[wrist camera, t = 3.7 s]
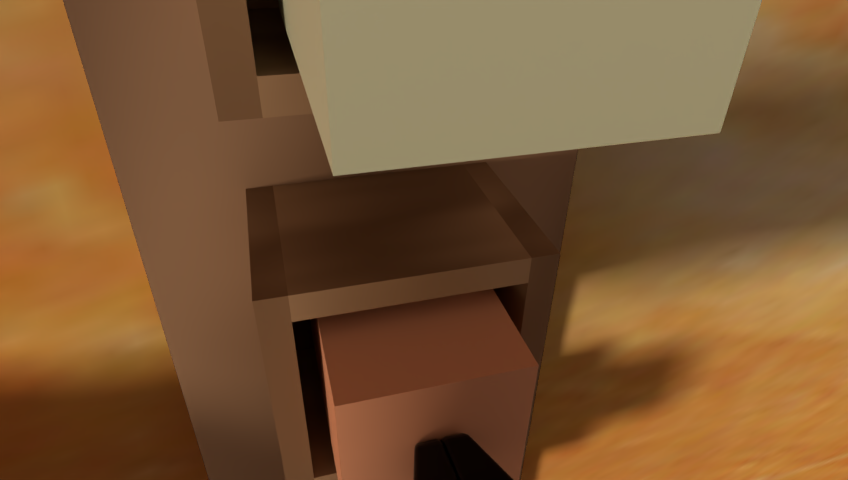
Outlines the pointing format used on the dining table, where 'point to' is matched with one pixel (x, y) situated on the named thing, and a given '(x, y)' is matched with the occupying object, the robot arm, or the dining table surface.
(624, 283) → the dining table surface
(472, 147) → the beige rectangular block
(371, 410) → the orange rectangular block
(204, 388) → the brown block rack
